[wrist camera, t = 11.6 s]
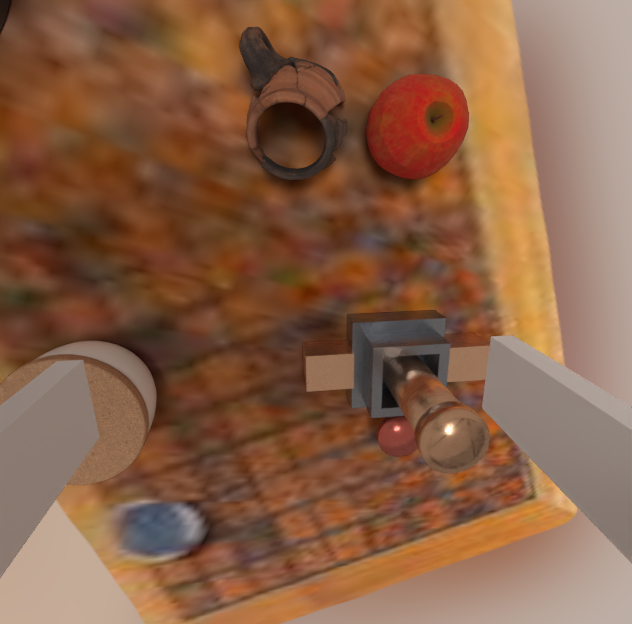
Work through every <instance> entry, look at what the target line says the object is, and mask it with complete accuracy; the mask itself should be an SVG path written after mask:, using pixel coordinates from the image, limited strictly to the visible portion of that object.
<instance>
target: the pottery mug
mask: <svg viewBox="0 0 632 624" xmlns="http://www.w3.org/2000/svg"><path fill="white" fill-rule="evenodd" d="M239 48H240V52H241V55H242V57H243V59H244V62H245V64H246V66H247V68H248V69H249V71H250V73H251V76H252V83H251V86H252V88H253V89H255V90H261V89H263V90H262V91H261V95H260V97H257V96H255V95H254V96H253V97H252V100H251V103H250V106H249V111H248V114H247V134H246V136H247V140H248V144H249V147H250V149H251V150H252V152H253V153H254V154H255V156H256V157H257V158H258V159H259V160H260V161H261V162H262V167H263V168H264V169H265V170H266V171H268V172H269V173H271V174H273V175H275V176H277V177H279V178H283V179H286V180H296V179H298V180H301V179H306V178H309V177H312V176H314V175H316V174H318V173H319V172H320V171H321V170H323V169H324V168H326V167H328V166H329V165H331V164H332V163H333V162H334V161H335V160H336V158H335V157H334V156H333V155H332V152H333V150H335V149H336V148H338V146H339V145H340V144H341V142H342V139H343V137H344V136H345V135H346V133H347V121H346V120H345V119H344V120H340V119H337V118H335V117H333V116H332V115H330V114H329V111H331V110H332V109H333V108H334V107H335V106H337V105H338V104H339V103H343V102H344V101H345V95H344V91H343V89H342V87H341V85H340V83H339V81H338V80H337V78H336V77H335V75H334V74H333V73H332V72H331V71H330V70H328V69H326V68H324V67H323V66H321V65H319V64H316V63H313V62H309V61H306V60H302V59H298V58H293V57H290V58H288V59H285V58H283V57H282V56H280V55H279V54H278V53H276V52H275V50H274V48H273V47H272V45H271V43H270V42H269V40H268V38H267V36H266V35H265V33H264V32H263V31H262V29H261V28H259V27H248V28H246V30H244V32H243V33H242V36H241V40H240V43H239ZM284 102H290V103H296V104H299V105H301V106H304V107H305V108H307V109H308V110H310V111H311V112H312V113H313V114H314V115H315V116H316V117H317V118H318V120H319V121H320V122H321V124H322V127H323V129H324V133H325V146H324V150H323V153H322V155H321V156H320V157H319V159H318V160H317V161H316V162H314V163H313V164H312V165H310V166H308V167H305V168H299V169H293V168H286V167H283V166H280V165H278V164H277V163H275V162H273V161H272V160H271V159H269V158H268V157H267V156H266V155H265V154H264V153H263V150H262V149H261V147H260V146H259V141H258V136H257V126H258V122H259V120H260V117H261V116H262V114H263V113H264V112H265V111H266V109H267V108H269V107H271V106H272V105H275V104H278V103H284Z"/></svg>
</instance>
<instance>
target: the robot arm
mask: <svg viewBox="0 0 632 624" xmlns="http://www.w3.org/2000/svg"><path fill="white" fill-rule="evenodd" d="M9 3H10V0H0V29H1V28H2V26H3V23H4V21H5V18H6V15H7V12H8V8H9ZM482 409H483V410H484V411H485V412H486V413H487V414H488V415H489V416H490V417H491V418H492V419H493V420H494V421H495V422H496V423H497V424H498V425H499V426H500V427H501V428H502V429H503V430H504V432H505V433H506V434H507V435H508V436H509V437H510V438H511V439H512V440H513V441H514V442H515V443H516V444H517V445H518V446H519V447H520V448H521V449H522V450H523V451H524V452H525V453H526V454H527V455H528V456H529V457H530V458H531V459H532V461H533V462H534V463H535V464H536V465H537V466H538V467H539V468H540V469H541V470H542V471H543V472H544V473H545V474H546V475H547V476H548V477H549V478H550V479H551V480H552V481H553V482H554V483H555V484H556V485H557V486H558V487H559V488H560V490H561V491H562V492H563V493H564V494H565V495H566V496H567V497H568V498H569V499H570V500H571V501H572V502H573V503H574V504H575V505H576V506H577V507H578V508H579V509H580V510H581V511H582V512H583V513H584V514H585V515H586V516H587V517H588V519H589V520H590V521H591V522H592V523H593V524H594V525H595V526H596V527H597V528H598V529H599V530H600V531H601V532H602V533H603V534H604V535H605V536H606V537H607V538H608V539H609V540H610V541H611V542H612V543H613V544H614V545H615V546H616V547H617V549H618V550H620V552H621V553H622V554H623V555H624V556H625V557H626V558H627V559H628V560H629V561H630V562H631V563H632V407H631V406H629V405H628V404H626V403H624V402H623V401H621V400H619V399H618V398H616V397H614V396H613V395H611V394H609V393H608V392H606V391H604V390H603V389H601V388H599V387H598V386H596V385H594V384H593V383H591V382H589V381H588V380H586V379H584V378H583V377H581V376H579V375H578V374H576V373H574V372H573V371H571V370H569V369H568V368H566V367H564V366H563V365H561V364H559V363H558V362H556V361H554V360H553V359H551V358H549V357H548V356H546V355H544V354H543V353H541V352H539V351H538V350H536V349H534V348H533V347H531V346H529V345H528V344H526V343H524V342H523V341H521V340H519V339H518V338H516V337H514V336H513V335H511V336H493V337H491V341H490V349H489V357H488V365H487V373H486V381H485V389H484V396H483V404H482ZM99 437H100V436H99V431H98V426H97V422H96V417H95V412H94V408H93V403H92V399H91V394H90V389H89V385H88V380H87V375H86V371H85V366H84V361H83V360H70V361H56V362H55V363H54V364H52V365H51V366H50V367H49V368H47V369H46V370H45V371H44V372H42V373H41V374H40V375H38V376H37V377H36V378H35V379H33V380H32V381H31V382H30V383H28V384H27V385H26V386H24V387H23V388H22V389H21V390H19V391H18V392H17V393H16V394H14V395H13V396H12V397H10V398H9V399H8V400H7V401H5V402H4V403H3V404H2V405H0V578H1V576H2V575H3V573H4V572H5V571H6V569H7V568H8V567H9V565H10V564H11V562H12V561H13V559H14V558H15V557H16V555H17V554H18V552H19V551H20V549H21V548H22V547H23V545H24V544H25V542H26V541H27V540H28V538H29V537H30V535H31V534H32V532H33V531H34V530H35V528H36V527H37V525H38V524H39V523H40V521H41V520H42V518H43V517H44V515H45V514H46V513H47V511H48V510H49V508H50V507H51V505H52V504H53V503H54V501H55V500H56V498H57V497H58V496H59V494H60V493H61V491H62V490H63V488H64V487H65V486H66V484H67V483H68V481H69V480H70V479H71V477H72V476H73V474H74V473H75V471H76V470H77V469H78V467H79V466H80V464H81V463H82V462H83V460H84V459H85V457H86V456H87V454H88V453H89V452H90V450H91V449H92V447H93V446H94V444H95V443H96V442H97V440H98V439H99Z"/></svg>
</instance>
